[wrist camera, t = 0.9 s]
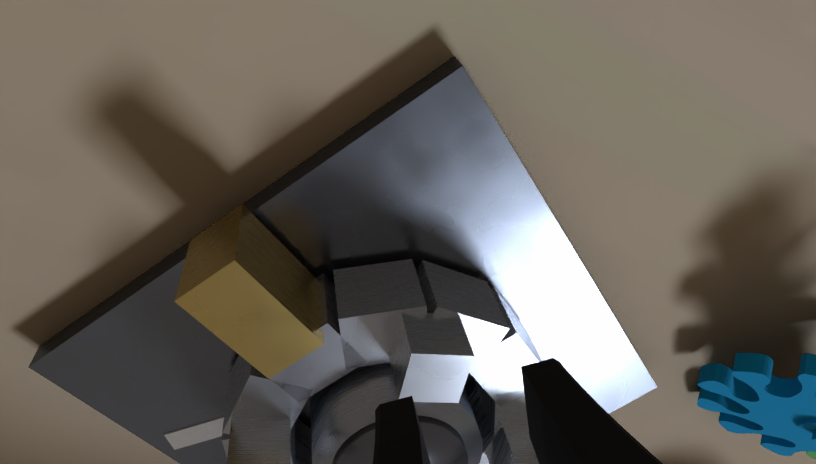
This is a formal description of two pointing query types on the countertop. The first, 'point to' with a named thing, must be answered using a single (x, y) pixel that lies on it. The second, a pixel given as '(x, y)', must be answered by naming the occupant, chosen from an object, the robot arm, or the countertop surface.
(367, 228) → the flange plate
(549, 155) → the countertop surface
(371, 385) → the housing
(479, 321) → the grey block ring
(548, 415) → the robot arm
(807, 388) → the gear
